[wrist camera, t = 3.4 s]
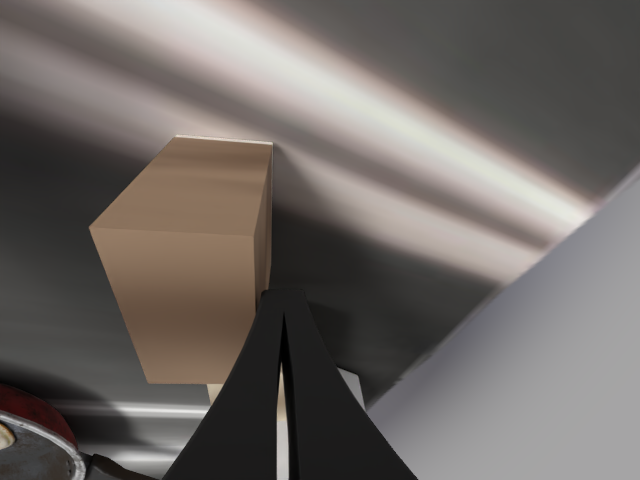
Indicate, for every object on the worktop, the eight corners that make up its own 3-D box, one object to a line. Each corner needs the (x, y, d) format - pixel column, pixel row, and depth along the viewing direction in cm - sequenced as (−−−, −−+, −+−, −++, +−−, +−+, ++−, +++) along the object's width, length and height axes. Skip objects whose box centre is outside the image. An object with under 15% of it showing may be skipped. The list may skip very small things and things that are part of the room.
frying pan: (-263, 304, 17) (-382, 371, 14) (286, 413, 29) (287, 461, 26) (-191, 454, 25) (-254, 515, 22) (208, 488, 38) (202, 531, 35)
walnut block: (176, 134, 14) (89, 227, 8) (272, 142, 14) (253, 236, 8) (196, 261, 18) (148, 383, 12) (270, 265, 18) (257, 384, 12)
